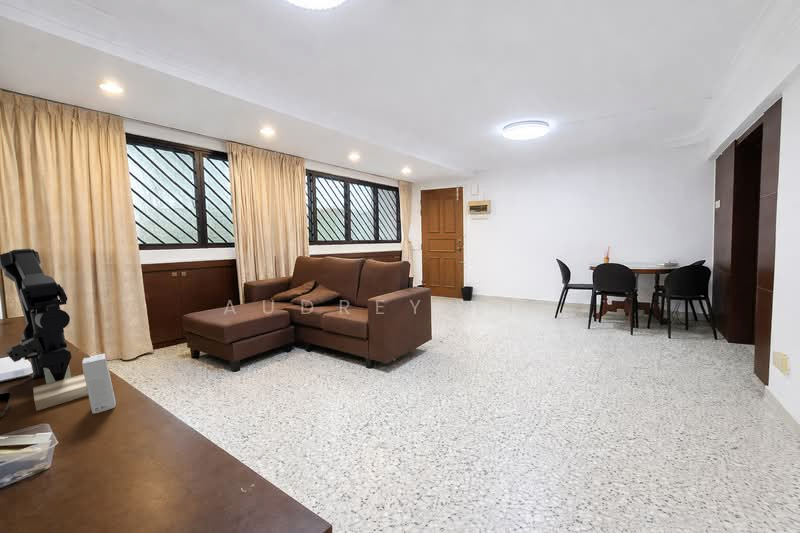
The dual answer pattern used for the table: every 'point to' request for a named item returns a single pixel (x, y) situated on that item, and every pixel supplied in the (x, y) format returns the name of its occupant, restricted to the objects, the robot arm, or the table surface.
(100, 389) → the skincare box
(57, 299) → the robot arm
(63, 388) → the maple plinth
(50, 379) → the sage cube
